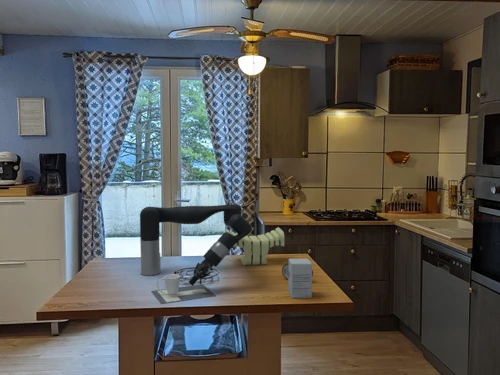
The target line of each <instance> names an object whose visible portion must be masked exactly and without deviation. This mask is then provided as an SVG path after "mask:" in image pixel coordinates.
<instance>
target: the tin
mask: <svg viewBox="0 0 500 375" xmlns="http://www.w3.org/2000/svg"><path fill="white" fill-rule="evenodd" d="M288 267H289V261H287V262H285V264H284V265H283V266H282V268H281V272H282V273H281V274H282V276H283V277H284V278H285V279H287V280H288ZM313 276H314V270H313V269H312V277H313Z"/></svg>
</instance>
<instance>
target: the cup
mask: <svg viewBox="0 0 500 375" xmlns="http://www.w3.org/2000/svg"><path fill="white" fill-rule="evenodd" d="M161 280H162V281H164V284H165V285H164V286H165V289H166V290H167V292H168V294H166V293H164V292H163V291H161V290H162V289H161V288H160V287H159V283H160V281H161ZM180 282H181V275H179V274H178V273H177V274H176V273H175V274H174V273H171V274H166V275H164V276H163V277H162V278H159V280H157V284H156V287H157V290H159V291H160V292H162V293H163V294H165V295H168V296H176V295H178V294H177V292H178V289H179V287H180Z"/></svg>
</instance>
